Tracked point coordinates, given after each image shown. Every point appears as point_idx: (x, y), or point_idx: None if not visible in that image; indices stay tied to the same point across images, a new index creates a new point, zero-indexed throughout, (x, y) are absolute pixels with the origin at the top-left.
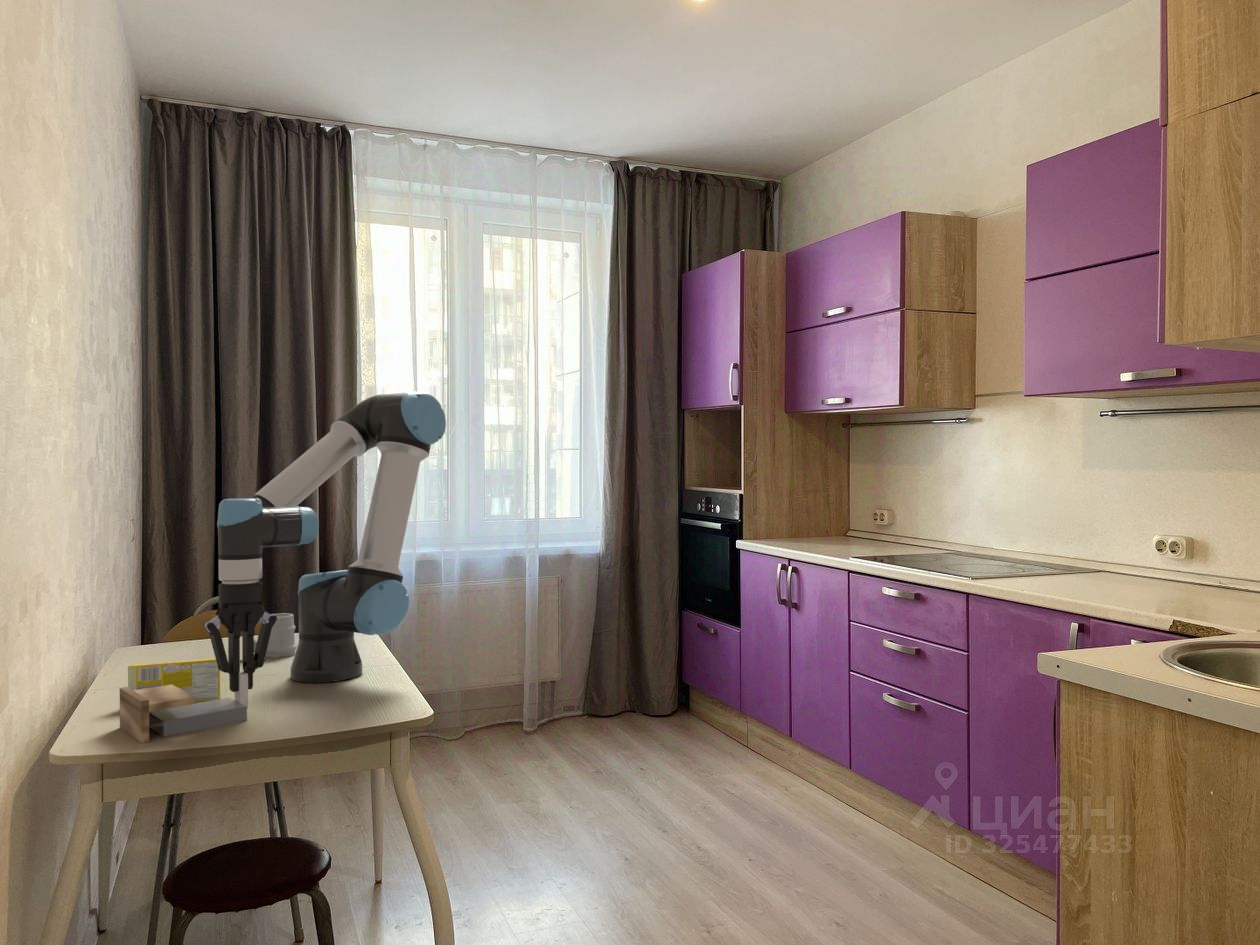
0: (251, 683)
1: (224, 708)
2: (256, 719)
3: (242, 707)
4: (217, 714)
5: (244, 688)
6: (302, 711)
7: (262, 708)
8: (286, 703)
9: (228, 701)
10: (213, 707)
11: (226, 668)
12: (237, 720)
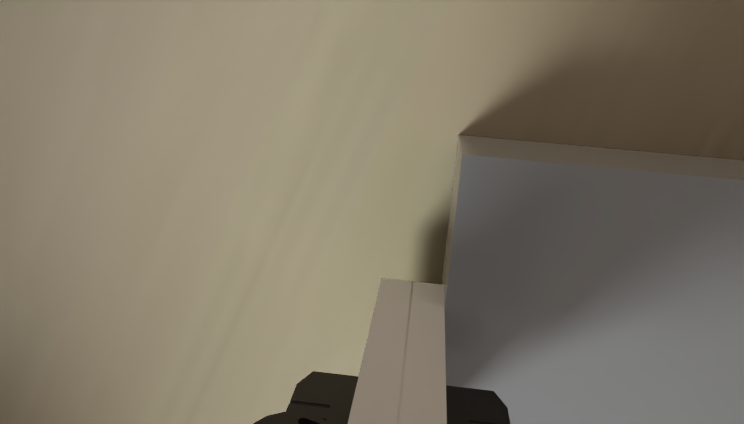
0: (306, 402)
1: (628, 233)
2: (398, 105)
3: (502, 156)
4: (718, 172)
5: (398, 363)
6: (61, 53)
7: (236, 353)
8: (68, 347)
9: None
10: (665, 338)
11: None
12: (531, 143)
